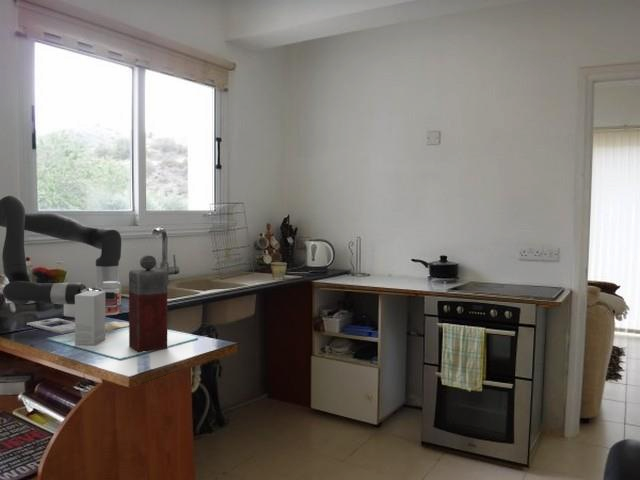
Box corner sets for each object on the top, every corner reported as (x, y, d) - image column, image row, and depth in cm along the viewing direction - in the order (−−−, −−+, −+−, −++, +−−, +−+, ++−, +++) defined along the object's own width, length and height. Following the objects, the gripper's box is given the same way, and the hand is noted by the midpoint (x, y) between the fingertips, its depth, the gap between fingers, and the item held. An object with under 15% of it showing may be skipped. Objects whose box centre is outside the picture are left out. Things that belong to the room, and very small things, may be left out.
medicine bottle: (91, 314, 205) (91, 284, 204) (76, 318, 198) (76, 286, 197) (78, 313, 208) (78, 283, 207) (63, 316, 201) (62, 285, 200)
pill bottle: (121, 314, 183) (121, 282, 183) (102, 315, 180) (102, 283, 179) (117, 311, 188) (117, 280, 188) (99, 312, 185) (99, 281, 185)
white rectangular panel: (56, 320, 194) (56, 317, 194) (92, 328, 182) (92, 325, 182) (26, 325, 185) (26, 322, 185) (61, 333, 173) (61, 331, 172)
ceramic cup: (282, 280, 316) (282, 264, 315) (267, 279, 319) (267, 263, 319) (291, 278, 328) (291, 262, 327) (276, 277, 331) (277, 261, 331)
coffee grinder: (155, 340, 166) (155, 253, 165) (167, 348, 157) (167, 255, 155) (126, 344, 161) (126, 254, 159) (137, 352, 152) (137, 257, 150)
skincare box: (86, 338, 167) (86, 290, 166) (107, 339, 167) (106, 290, 166) (73, 345, 159) (73, 294, 158) (95, 345, 159) (94, 295, 158)
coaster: (114, 322, 192) (114, 321, 192) (132, 325, 186) (132, 324, 186) (90, 327, 183) (89, 325, 183) (107, 331, 178) (107, 329, 178)
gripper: (60, 285, 175) (112, 286, 177) (75, 280, 189) (123, 281, 191) (60, 307, 175) (111, 308, 177) (75, 300, 190) (122, 301, 191)
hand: (117, 294), depth 184 cm, fingers closed on pill bottle, 6 cm apart
